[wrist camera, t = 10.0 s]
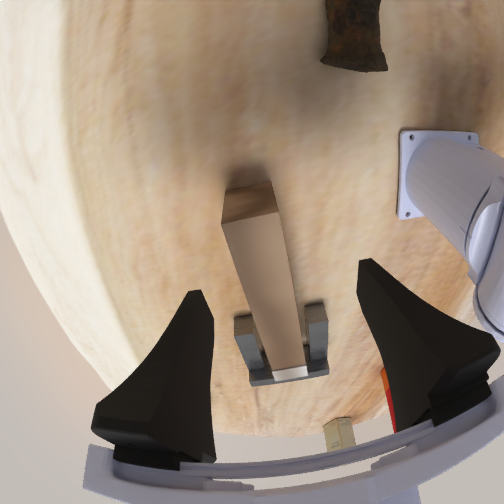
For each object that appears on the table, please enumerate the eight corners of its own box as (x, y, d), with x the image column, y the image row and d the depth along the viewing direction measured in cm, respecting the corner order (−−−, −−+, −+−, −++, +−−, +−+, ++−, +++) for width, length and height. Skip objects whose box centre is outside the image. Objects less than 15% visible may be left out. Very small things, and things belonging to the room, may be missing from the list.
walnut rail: (271, 181, 20) (280, 213, 16) (301, 339, 31) (307, 375, 27) (224, 191, 20) (219, 226, 16) (271, 344, 32) (275, 381, 28)
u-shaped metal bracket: (323, 302, 28) (331, 332, 24) (323, 348, 33) (328, 374, 30) (234, 317, 29) (233, 348, 25) (250, 360, 34) (251, 386, 30)
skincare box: (336, 417, 52) (344, 463, 42) (351, 416, 53) (359, 460, 43) (322, 426, 55) (328, 468, 45) (337, 425, 56) (344, 466, 46)
